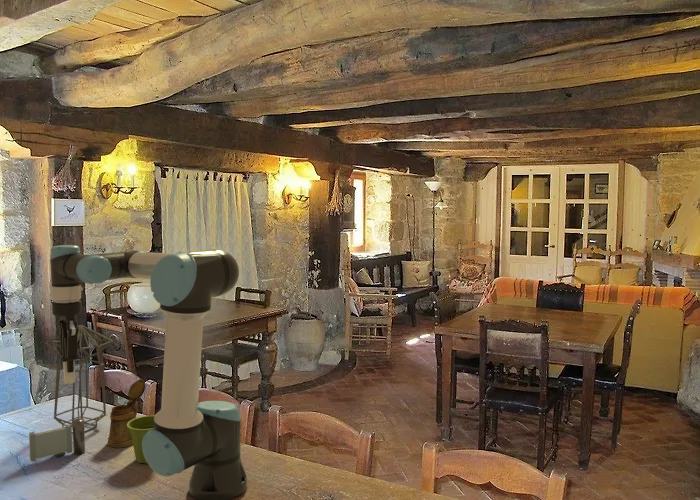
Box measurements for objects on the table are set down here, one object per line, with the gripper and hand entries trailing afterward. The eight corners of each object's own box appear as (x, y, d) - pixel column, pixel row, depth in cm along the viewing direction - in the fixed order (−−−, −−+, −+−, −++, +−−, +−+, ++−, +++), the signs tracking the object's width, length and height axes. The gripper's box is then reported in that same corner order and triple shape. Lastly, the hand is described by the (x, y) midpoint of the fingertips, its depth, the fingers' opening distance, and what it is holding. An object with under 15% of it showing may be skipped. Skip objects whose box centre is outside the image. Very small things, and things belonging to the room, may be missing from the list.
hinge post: (86, 452, 184) (85, 420, 184) (75, 455, 182) (74, 423, 182) (83, 449, 187) (82, 417, 186) (72, 452, 185) (71, 419, 184)
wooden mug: (154, 434, 199) (153, 380, 197) (122, 450, 187) (121, 392, 185) (133, 429, 203) (132, 376, 201) (101, 444, 191) (99, 388, 189)
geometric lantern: (83, 417, 214) (83, 318, 211) (115, 426, 207) (116, 324, 204) (42, 432, 200) (42, 326, 197) (76, 442, 193) (76, 333, 190)
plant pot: (178, 456, 182) (177, 420, 181) (145, 471, 173) (144, 432, 172) (152, 447, 189) (151, 412, 188) (119, 461, 179) (118, 423, 178)
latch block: (65, 454, 183) (64, 435, 182) (56, 456, 182) (55, 437, 181) (63, 452, 185) (62, 433, 184) (54, 454, 183) (54, 435, 183)
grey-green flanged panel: (70, 450, 184) (69, 424, 183) (72, 452, 183) (71, 426, 182) (30, 459, 177) (29, 432, 176) (31, 461, 176) (30, 434, 175)
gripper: (87, 302, 169) (90, 385, 171) (74, 295, 179) (77, 374, 181) (58, 305, 164) (61, 391, 166) (46, 298, 174) (49, 379, 177)
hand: (69, 382), depth 174 cm, fingers closed
